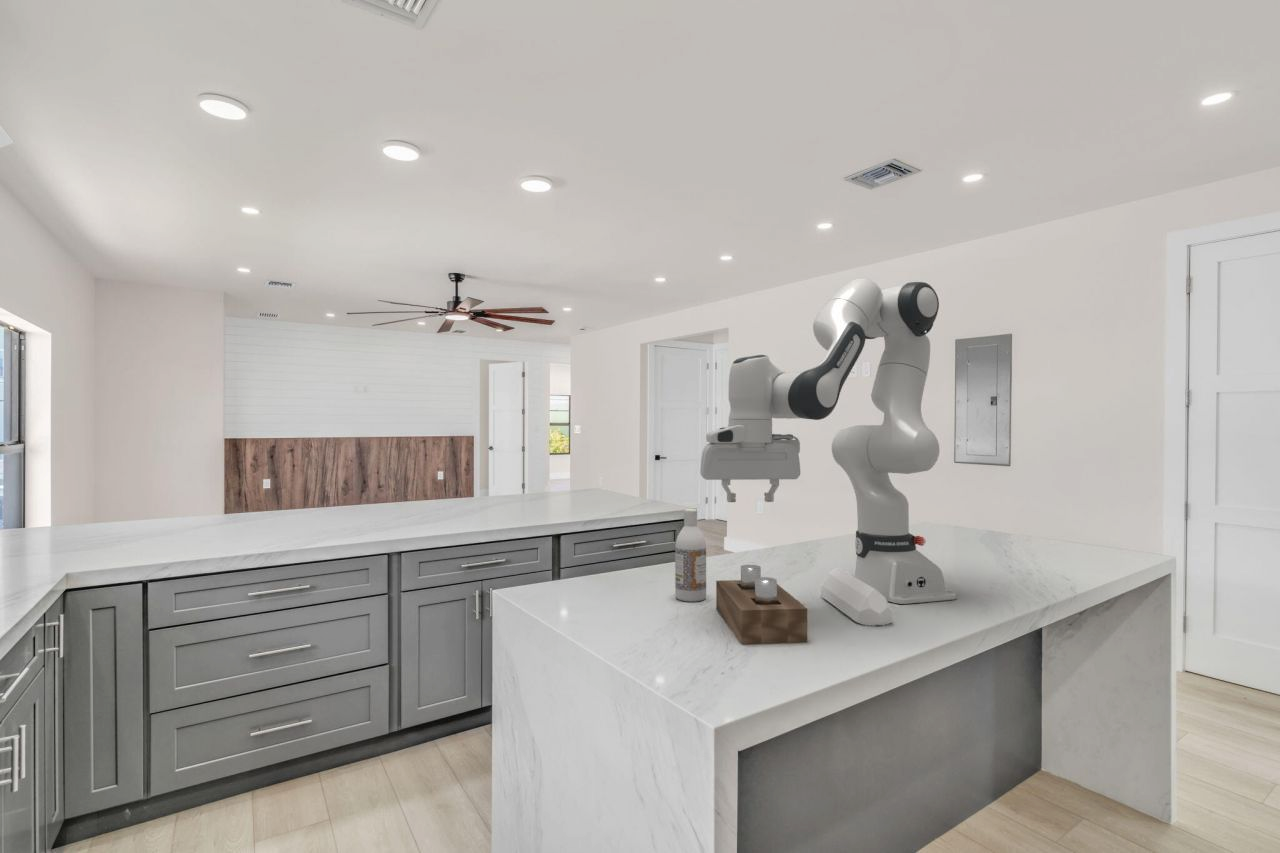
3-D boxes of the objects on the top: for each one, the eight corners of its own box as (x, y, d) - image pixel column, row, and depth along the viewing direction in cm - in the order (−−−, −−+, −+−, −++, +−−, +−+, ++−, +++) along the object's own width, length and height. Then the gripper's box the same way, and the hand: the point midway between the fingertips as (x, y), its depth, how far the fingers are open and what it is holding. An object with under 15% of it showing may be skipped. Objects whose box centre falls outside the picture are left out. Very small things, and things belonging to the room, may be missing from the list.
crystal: (809, 579, 145) (851, 608, 121) (835, 563, 145) (882, 589, 121) (825, 607, 145) (870, 642, 121) (851, 590, 145) (901, 622, 121)
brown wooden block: (771, 607, 135) (771, 579, 135) (807, 642, 113) (807, 608, 113) (716, 609, 134) (716, 580, 134) (741, 644, 112) (741, 610, 112)
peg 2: (773, 606, 120) (773, 576, 120) (779, 613, 116) (779, 582, 116) (752, 607, 120) (752, 577, 120) (758, 613, 116) (758, 582, 116)
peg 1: (757, 592, 131) (757, 564, 131) (763, 597, 127) (763, 568, 127) (738, 592, 131) (738, 564, 131) (743, 597, 127) (743, 569, 127)
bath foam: (692, 604, 137) (691, 512, 138) (669, 598, 142) (668, 509, 143) (712, 598, 142) (712, 509, 142) (689, 592, 147) (689, 507, 147)
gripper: (794, 434, 133) (794, 499, 133) (698, 434, 131) (698, 500, 131) (805, 434, 127) (805, 503, 127) (704, 434, 125) (704, 503, 125)
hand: (750, 501), depth 129 cm, fingers open, 6 cm apart
